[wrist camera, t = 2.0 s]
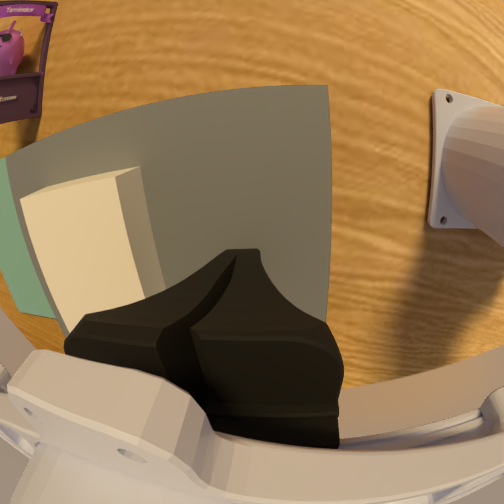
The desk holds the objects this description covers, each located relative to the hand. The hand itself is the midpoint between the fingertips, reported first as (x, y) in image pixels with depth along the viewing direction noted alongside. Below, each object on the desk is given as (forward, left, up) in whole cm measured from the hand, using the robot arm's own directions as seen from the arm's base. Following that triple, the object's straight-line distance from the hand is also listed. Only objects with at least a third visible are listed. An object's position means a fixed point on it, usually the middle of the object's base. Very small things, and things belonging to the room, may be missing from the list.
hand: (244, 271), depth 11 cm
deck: (+5, 0, -5) cm, 7 cm away
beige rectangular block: (+7, 0, -1) cm, 7 cm away
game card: (+15, -14, -5) cm, 21 cm away
